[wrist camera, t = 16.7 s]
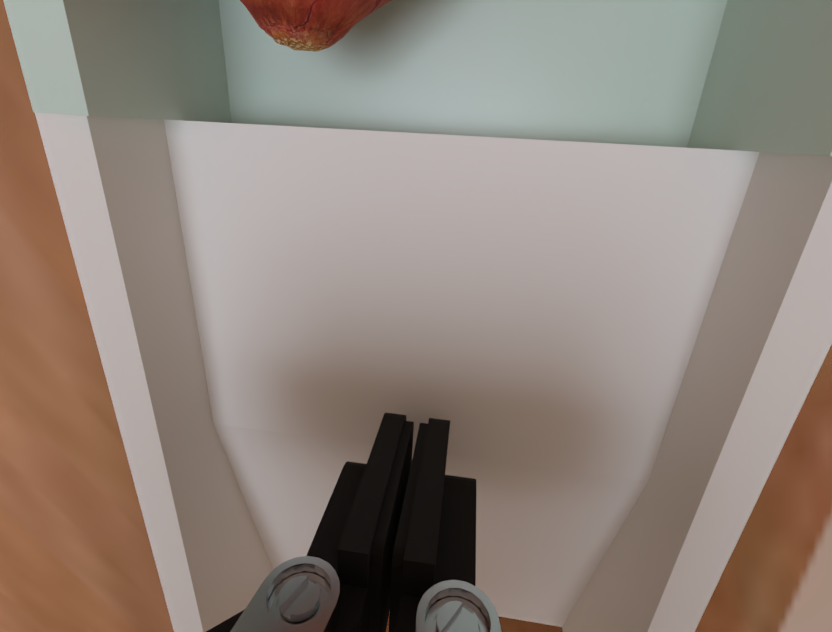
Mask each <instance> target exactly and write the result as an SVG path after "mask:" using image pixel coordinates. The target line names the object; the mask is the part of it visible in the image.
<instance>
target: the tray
mask: <svg viewBox="0 0 832 632" xmlns="http://www.w3.org/2000/svg"><path fill="white" fill-rule="evenodd" d="M3 1H4V5H5V9H6V12H7V16H8V20H9V23H10V27H11V31H12V35H13V38H14V42H15V46H16V49H17V53H18V57H19V61H20V64H21V68H22V72H23V75H24V79H25V83H26V87H27V90H28V94H29V98H30V101H31V105H32V109H33V113H48V114H67V115H85V116H104V117H124V118H144V119H163V120H183V121H203V122H222V123H242V124H260V125H279V126H297V127H316V128H334V129H353V130H371V131H390V132H408V133H427V134H445V135H464V136H482V137H501V138H519V139H538V140H556V141H575V142H593V143H612V144H630V145H649V146H667V147H686V148H703V149H720V150H738V151H755V152H772V153H789V154H807V155H824V156H832V0H392V1H390V2H388V3H387V4H385V5H383V6H382V7H380V8H378V9H377V10H375V11H374V12H372V13H371V14H369V15H368V16H367V17H365V18H364V19H362V20H361V21H360V22H358V23H357V24H355V25H354V26H353V27H352V28H351V29H350V31H349V32H348V33H347V34H346V35H345V36H344V37H343V38H342V39H340V40H339V41H338V42H336V43H335V44H334V45H332V46H331V47H329V48H326V49H323V50H320V51H317V52H315V51H299V50H293V49H291V48H290V47H288V46H284V45H281V44H277V43H276V42H275V41H274V39H273V38H272V37H270V36H269V35H268V34H266V32H265V31H264V30H263V29H261V28H260V27H259V26H258V24H257V23H256V21H255V20H254V18H253V17H252V15H251V14H250V12H249V11H248V10H247V8H246V7H245V6H244V4H243V3H242V2H241V1H240V0H3Z"/></svg>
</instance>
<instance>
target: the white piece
mask: <svg viewBox="0 0 832 632" xmlns="http://www.w3.org/2000/svg"><path fill="white" fill-rule="evenodd" d="M35 115H36V119H37V122H38V126H39V130H40V133H41V137H42V141H43V145H44V148H45V152H46V156H47V160H48V163H49V167H50V171H51V175H52V178H53V182H54V186H55V189H56V193H57V197H58V201H59V204H60V208H61V212H62V216H63V219H64V223H65V227H66V231H67V234H68V238H69V242H70V245H71V249H72V253H73V257H74V260H75V264H76V268H77V272H78V275H79V279H80V283H81V286H82V290H83V294H84V298H85V301H86V305H87V309H88V313H89V316H90V320H91V324H92V328H93V331H94V335H95V339H96V342H97V346H98V350H99V354H100V357H101V361H102V365H103V369H104V372H105V376H106V380H107V384H108V387H109V391H110V395H111V398H112V402H113V406H114V410H115V413H116V417H117V421H118V425H119V428H120V432H121V436H122V440H123V443H124V447H125V451H126V454H127V458H128V462H129V466H130V469H131V473H132V477H133V481H134V484H135V488H136V492H137V495H138V499H139V503H140V507H141V510H142V514H143V518H144V522H145V525H146V529H147V533H148V537H149V540H150V544H151V548H152V551H153V555H154V559H155V563H156V566H157V570H158V574H159V578H160V581H161V585H162V589H163V593H164V596H165V600H166V604H167V607H168V611H169V615H170V619H171V622H172V626H173V630H174V632H206V631H208V630H210V629H211V628H213V627H215V626H217V625H218V624H220V623H222V622H224V621H225V620H227V619H229V618H231V617H232V616H234V615H236V614H237V613H239V612H241V611H243V610H244V609H245V608H246V607H247V605H248V604H249V602H250V601H251V599H252V598H253V596H254V595H255V593H256V592H257V590H258V589H259V587H260V586H261V584H262V583H263V581H264V580H265V578H266V577H267V576H268V575H269V574H270V573H271V571H272V570H273V569H275V568H276V567H278V566H279V565H280V564H282V563H283V562H285V561H288V560H290V559H293V558H295V557H303V556H306V555H307V553H308V550H309V548H310V546H311V543H312V541H313V538H314V536H315V534H316V531H317V529H318V526H319V524H320V522H321V519H322V517H323V514H324V512H325V510H326V507H327V505H328V502H329V500H330V497H331V495H332V493H333V490H334V488H335V485H336V483H337V481H338V478H339V476H340V473H341V471H342V469H343V466H344V465H345V463H346V462H347V461H349V462H356V463H363V464H367V462H368V459H369V456H370V453H371V450H372V447H373V444H374V441H375V439H376V436H377V433H378V430H379V427H380V424H381V421H382V418H383V415H384V413H385V412H386V413H394V414H402V415H406V421H411V422H414V431H413V448H412V458H413V454H414V449H415V444H416V439H417V435H418V430H419V425H420V423H427V424H428V421H429V418H434V419H442V420H450V429H449V439H448V449H447V460H446V470H445V475H451V476H458V477H466V478H473V479H476V584H475V586H476V587H478V588H479V589H480V590H481V591H482V592H484V593H485V594H486V595H487V596H488V597H489V599H490V600H491V602H492V603H493V605H494V606H495V609H496V612H497V615H498V616H499V617H505V618H511V619H517V620H523V621H529V622H535V623H541V624H546V625H552V626H558V627H562V631H563V632H695V630H696V628H697V626H698V623H699V621H700V619H701V617H702V615H703V613H704V611H705V609H706V607H707V605H708V602H709V600H710V598H711V596H712V594H713V592H714V590H715V588H716V586H717V584H718V581H719V579H720V577H721V575H722V573H723V571H724V569H725V567H726V565H727V563H728V560H729V558H730V556H731V554H732V552H733V550H734V548H735V546H736V544H737V542H738V539H739V537H740V535H741V533H742V531H743V529H744V527H745V525H746V523H747V521H748V518H749V516H750V514H751V512H752V510H753V508H754V506H755V504H756V502H757V500H758V497H759V495H760V493H761V491H762V489H763V487H764V485H765V483H766V481H767V479H768V476H769V474H770V472H771V470H772V468H773V466H774V464H775V462H776V460H777V458H778V456H779V453H780V451H781V449H782V447H783V445H784V443H785V441H786V439H787V437H788V435H789V432H790V430H791V428H792V426H793V424H794V422H795V420H796V418H797V416H798V414H799V411H800V409H801V407H802V405H803V403H804V401H805V399H806V397H807V395H808V393H809V390H810V388H811V386H812V384H813V382H814V380H815V378H816V376H817V374H818V372H819V369H820V367H821V365H822V363H823V361H824V359H825V357H826V355H827V353H828V351H829V348H830V346H831V344H832V156H824V155H807V154H789V153H772V152H755V151H738V150H720V149H703V148H686V147H667V146H649V145H630V144H612V143H593V142H575V141H556V140H538V139H519V138H501V137H482V136H464V135H445V134H427V133H408V132H390V131H371V130H353V129H334V128H316V127H297V126H279V125H260V124H242V123H222V122H203V121H183V120H163V119H144V118H124V117H104V116H85V115H67V114H48V113H35Z"/></svg>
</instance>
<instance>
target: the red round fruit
mask: <svg viewBox="0 0 832 632" xmlns="http://www.w3.org/2000/svg"><path fill="white" fill-rule="evenodd" d="M240 1H241V2H242V3H243V4H244V6H245V7H246V8H247V10H248V11H249V12H250V14H251V15H252V17H253V18H254V20H255V21H256V23H257V24H258V26H259V27H260V28H261V29H263V30H264V31H265V32H266V34H268V35H269V36H270V37H272V38H273V39H274V41H275V42H276V43H277V44H281V45H284V46H288V47H290V48H291V49H293V50H299V51H315V52H317V51H320V50H323V49H326V48H329V47H331V46H332V45H334V44H335V43H336V42H338V41H339V40H340V39H342V38H343V37H344V36H345V35H346V34H347V33H348V32H349V31H350V29H351V28H352V27H353V26H354V25H355V24H357V23H358V22H360V21H361V20H362V19H364V18H365V17H367V16H368V15H369V14H371V13H372V12H374V11H375V10H377V9H378V8H380V7H382V6H383V5H385V4H387V3H388V2H390V1H392V0H240Z"/></svg>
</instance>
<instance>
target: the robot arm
mask: <svg viewBox="0 0 832 632" xmlns="http://www.w3.org/2000/svg"><path fill="white" fill-rule="evenodd" d="M449 429H450V420H442V419H434V418H429V421H428V424H427V423H420V425H419V430H418V435H417V439H416V444H415V449H414V454H413V458H412V448H413V431H414V422H411V421H406V415H402V414H394V413H386V412H385V413H384V415H383V418H382V421H381V424H380V427H379V430H378V433H377V436H376V439H375V441H374V444H373V447H372V450H371V453H370V456H369V459H368V462H367V464H363V463H356V462H349V461H347V462H346V463H345V465H344V466H343V469H342V471H341V473H340V476H339V478H338V481H337V483H336V485H335V488H334V490H333V493H332V495H331V497H330V500H329V502H328V505H327V507H326V510H325V512H324V514H323V517H322V519H321V522H320V524H319V526H318V529H317V531H316V534H315V536H314V538H313V541H312V543H311V546H310V548H309V550H308V553H307V555H306V556H303V557H295V558H293V559H290V560H288V561H285V562H283V563H282V564H280V565H279V566H278V567H276V568H275V569H273V570H272V571H271V573H270V574H269V575H268V576H267V577H266V578H265V580H264V581H263V583H262V584H261V586H260V587H259V589H258V590H257V592H256V593H255V595H254V596H253V598H252V599H251V601H250V602H249V604H248V605H247V607H246V608H245V609H244V610H243V611H241V612H239V613H237V614H236V615H234V616H232V617H231V618H229V619H227V620H225V621H224V622H222V623H220V624H218V625H217V626H215V627H213V628H211V629H210V630H208V631H206V632H386V627H387V621H388V616H389V611H390V619H389V632H501V626H500V621H499V618H498V615H497V612H496V609H495V606H494V605H493V603H492V602H491V600H490V599H489V597H488V596H487V595H486V594H485V593H484V592H482V591H481V590H480V589H479V588H478V587H476V586H475V584H476V479H473V478H466V477H458V476H451V475H445V470H446V460H447V449H448V439H449Z"/></svg>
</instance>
